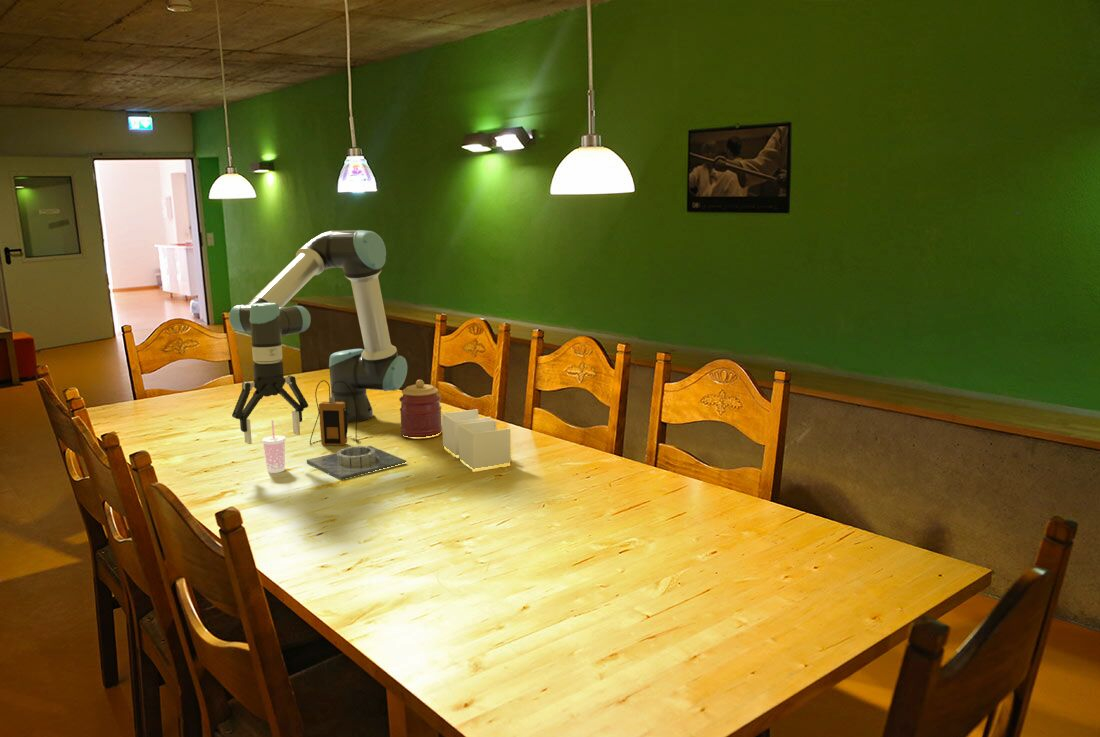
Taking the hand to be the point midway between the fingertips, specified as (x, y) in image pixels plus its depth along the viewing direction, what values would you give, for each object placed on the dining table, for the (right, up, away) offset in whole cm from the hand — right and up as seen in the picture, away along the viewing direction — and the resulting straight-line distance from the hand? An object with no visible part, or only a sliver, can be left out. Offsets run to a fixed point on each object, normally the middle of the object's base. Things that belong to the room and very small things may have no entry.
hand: (273, 438), depth 223 cm
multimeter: (+10, -4, +29) cm, 31 cm away
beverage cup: (0, -9, +2) cm, 9 cm away
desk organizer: (+54, -7, +12) cm, 56 cm away
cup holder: (+21, -8, +7) cm, 23 cm away
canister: (+35, -2, +36) cm, 50 cm away
